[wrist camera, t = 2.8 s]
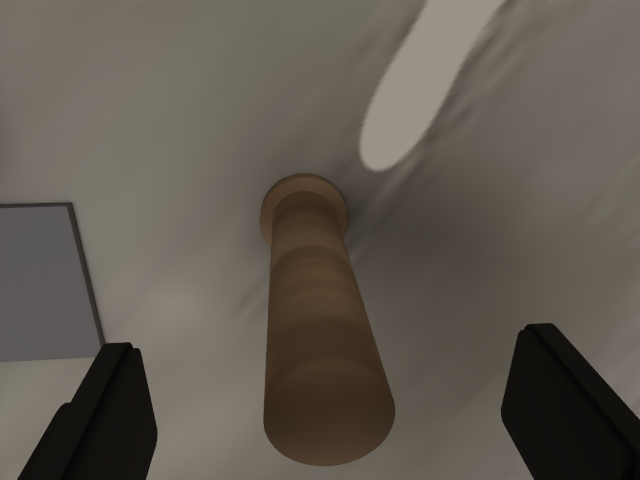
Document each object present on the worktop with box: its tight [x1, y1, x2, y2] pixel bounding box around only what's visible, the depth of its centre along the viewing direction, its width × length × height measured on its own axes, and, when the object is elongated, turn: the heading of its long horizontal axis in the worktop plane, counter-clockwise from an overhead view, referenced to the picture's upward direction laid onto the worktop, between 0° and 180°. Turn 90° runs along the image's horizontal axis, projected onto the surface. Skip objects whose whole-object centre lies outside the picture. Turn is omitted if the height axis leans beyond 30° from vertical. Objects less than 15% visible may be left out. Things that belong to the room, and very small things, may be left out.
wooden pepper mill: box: [260, 174, 395, 466], centre depth 17 cm, size 4×4×14 cm
